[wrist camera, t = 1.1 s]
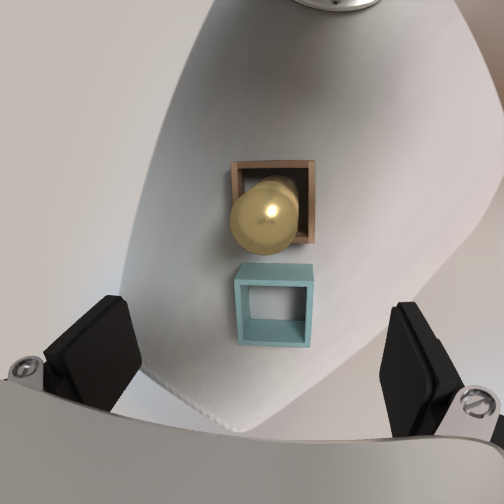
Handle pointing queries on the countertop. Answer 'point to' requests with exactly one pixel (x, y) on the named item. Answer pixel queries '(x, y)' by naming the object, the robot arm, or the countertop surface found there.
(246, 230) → the gold domed peg
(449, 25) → the countertop surface
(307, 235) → the socket block
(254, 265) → the block
